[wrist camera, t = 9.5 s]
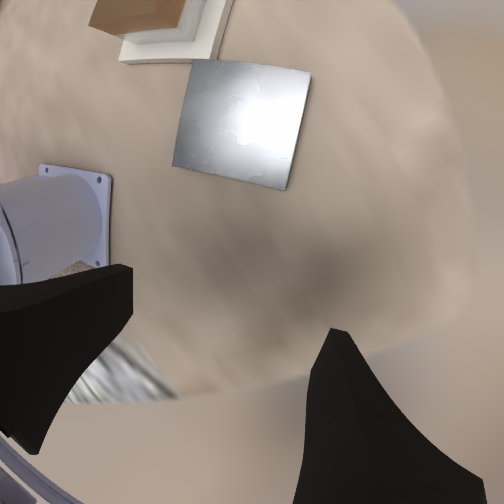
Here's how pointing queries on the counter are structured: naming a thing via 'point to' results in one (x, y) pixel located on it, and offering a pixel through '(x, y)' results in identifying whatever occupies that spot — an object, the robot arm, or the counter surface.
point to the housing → (149, 19)
